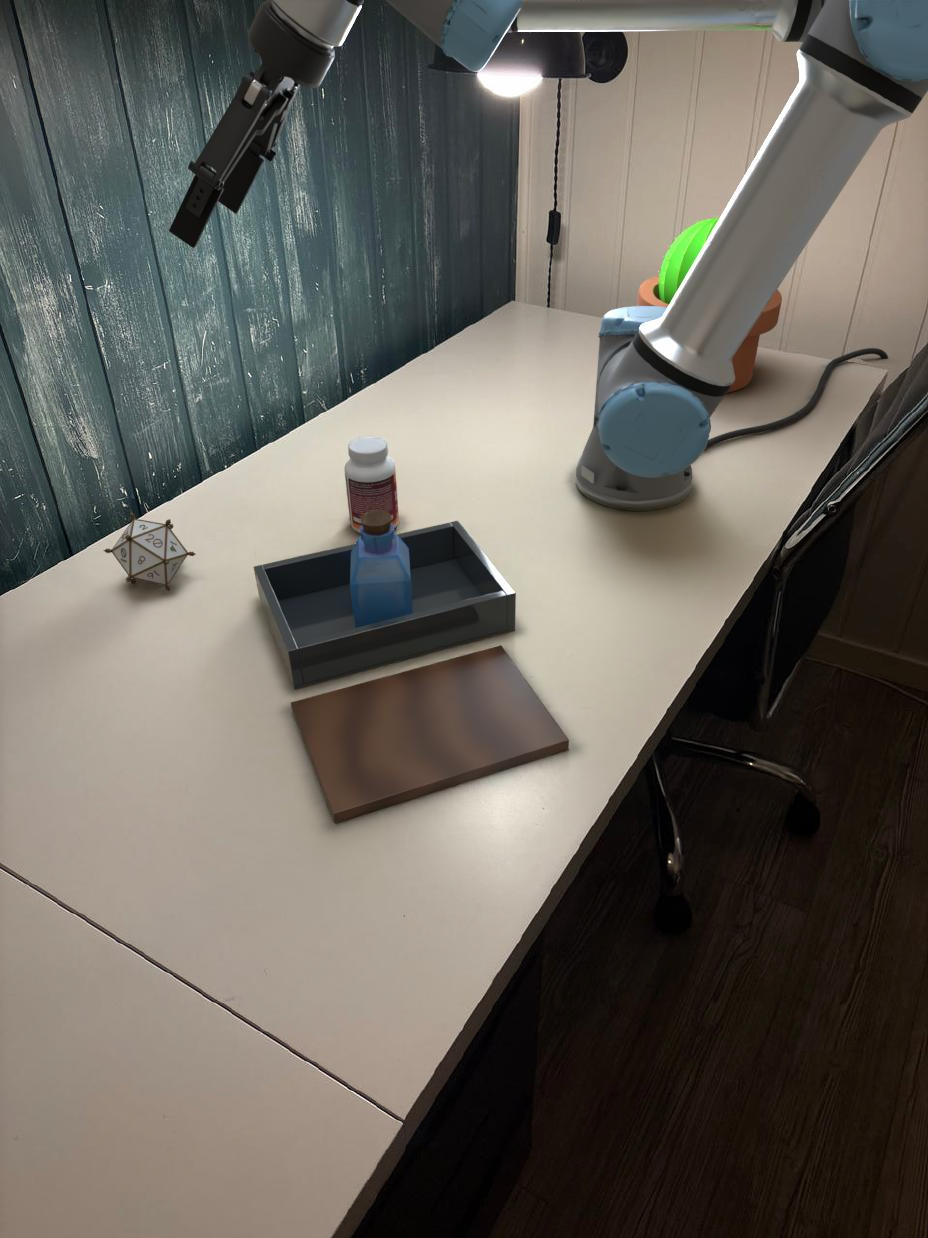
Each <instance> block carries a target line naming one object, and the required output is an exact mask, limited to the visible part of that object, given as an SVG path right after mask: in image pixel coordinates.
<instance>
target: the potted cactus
mask: <svg viewBox="0 0 928 1238" xmlns="http://www.w3.org/2000/svg"><path fill="white" fill-rule="evenodd" d="M713 216H714V217H713V218H710V217H708V218H707V219H703V218H702V217H701V219H700V220H699V218H697V220H696V219H695V220H693V224H692V225H691V226H688V227H687V228H682V230H683V231H682V230H679V231H680V232H681V234H680V235H679V236H678V237H677V236H676V237H675V236H674V241H673V243H672V244H671V245H670V246H669V245H666V247H667V248H669V249H668V250H667V252H666V254H665V256H664V255H663V254H661V258H662V260H663V261H662V264H661V267H660V271H659V270H658V271H655V273H657V274H658V273H659V275H656V276H653V277H651V278H648V279H646V280H645V281H643V282H642V283H641V284H640V286H639V289H638V294H637V305H636V306H658V307H668V306H669V305H670V303H671V301H672V299H673V298H674V296H675V294H676V293H677V291H678V289H679V287H680V286H681V284H682V282H683V281H684V279H685V277H686V275H687V274H688V272H689V270H690V269H691V267H692V265H693V263H694V262H695V260H696V258H697V257H698V255H699V253H700V251H701V250H702V248H703V246H704V245H705V243H706V241H707V239H708V238H709V236H710V234H711V233H712V231H713V229H714V227H715V226H716V224H717V222H718V221H719V219H720V217H718V214H716V215H715V213H714V214H713ZM695 222H696V223H695ZM782 301H783V296H782V294H781V292H780V291H779V290H778V289H777V290H776V292H775V293H774V295H773V296H772V298H771V300H770V301H769V303H768V304H767V306H766V307H765V309H764V310H763V312H762V313H761V315H760V316H759V318H758V319H757V321H756V322H755V324H754V326H753V327H752V329H751V330H750V332H749V333H748V335H747V336H746V338H745V339H744V341H743V342H742V344H741V345H740V347H739V348H738V350H737V352H736V353H735V355H734V356H733V358H732V364H733V369H734V374H735V380H734V382H733V384H732V385H731V387H730V388H729V390H728V391H727V393H732V392H736V391H739V390H741V389H743V388H745V387H746V386H747V385H749V384H750V382H751V380H752V378H753V375H754V370H755V365H756V359H757V354H758V347H759V341H760V337H761V336H762V335H763V334H766V333H769V332H770V331H772V330H773V329H774V328H775V327H776V326H777V324H778V323H779V317H780V311H781V307H782Z"/></svg>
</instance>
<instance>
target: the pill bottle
mask: <svg viewBox="0 0 928 1238" xmlns="http://www.w3.org/2000/svg"><path fill="white" fill-rule="evenodd" d="M347 453H348V456H349V458H348V459H347V460H346V462H345V464H344V480H345V487H346V498H347V507H348V517H349V523H350V526H351V528H352V529H353V530H354V531H355V532H357V533H359V534H360V528H361V526H362V523H361V519H360V518H361V516H362V515H363V514H364V513H366V512H369V511H373V510H382V511H386V512H388V513H390V514H391V516H392V519H391V523H392V524H393V526H394V529H396V527H397V526H398V525H399V522H400V513H399V499H398V485H397V471H396V470H397V469H396V464H395V461H394V460H393V458H391V456H389V446H388V442H387V441H386V440H385V439H384V438H382V437H380V436H376V435H375V436H374V435H366V436H365V435H364V436H360V437H357V438H354V439H352V440H350V442H349V443H348V446H347Z"/></svg>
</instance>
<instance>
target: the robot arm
mask: <svg viewBox="0 0 928 1238" xmlns="http://www.w3.org/2000/svg"><path fill="white" fill-rule="evenodd" d="M385 1H386V2H387V3H388V4H389V5H390V6H392V8H394V9H395V10H396V11H397V12H398V13H399V14H401V15H402V16H403V17H404V18H405V19H407V20H408V21H409V22H410V23H411V24H412V25H414V27H416V28H417V29H418V30H419V31H420V32H421V33H423V34H424V35H425V36H426V37H427V38H429V39H430V40H431V41H432V42H433V43H435V44H436V45H437V46H438V47H439V48H440V49H441V50H442V53H443V54H445V56H447V57H449V58H453V59H454V60H456V62H458V63H459V64H461V65H462V66H463V67H465V68H466V69H467V70H469V71H471V72H475V73H476V72H480V71H482V70H483V69H484V68H485V67H486V65H487V64H488V62H489V61H490V59H491V58H492V57H493V55H494V54H495V51H496V50H497V48H498V47H499V45H500V43H501V42H502V41H503V38H504V37H505V35H506V34H507V33H516V32H521V33H522V32H529V33H531V32H662V31H663V32H674V31H676V32H677V31H678V32H680V31H684V32H685V31H692V32H693V31H694V32H695V31H699V32H700V31H770V32H771V33H772V34H773V36H774V38H775V39H776V40H777V41H778V42H779V43H801V45H800V47H799V48H798V50H797V52H796V59H797V65H798V66H797V67H798V72H799V80H798V84H797V85H796V87H795V89H794V90H793V93H792V94H791V95H790V97H789V99H788V101H787V103H786V104H785V106H784V108H783V109H782V111H781V113H780V114H779V116H778V118H777V120H776V121H775V123H774V125H773V127H771V130H770V132H769V133H768V135H767V137H766V139H764V142H763V144H762V145H761V147H760V149H759V150H758V152H757V153H756V155H755V157H754V159H753V161H752V162H751V164H750V165H749V167H748V169H747V171H746V173H745V174H744V176H743V178H742V180H741V181H740V183H739V185H738V186H737V188H736V190H735V191H734V194H732V197H731V199H730V200H729V202H728V203H727V206H726V207H725V209H724V210H723V212H722V214H721V215H720V217H719V218H720V219H719V221H718V222H717V224H716V226H715V227H714V229H713V231H712V233H711V234H710V236H709V238H708V239H707V241H706V243H705V245H704V246H703V248H702V250H701V251H700V253H699V255H698V257H697V258H696V260H695V262H694V263H693V265H692V267H691V269H690V270H689V272H688V274H687V275H686V277H685V279H684V281H683V282H682V284H681V286H680V287H679V289H678V291H677V293H676V294H675V296H674V298H673V299H672V301H671V303H670V305H669V306H668V307H658V306H637V305H633V306H624V307H617V308H615V309H611V310H609V311H608V312H606V313H605V314H604V315H603V317H602V319H601V323H600V329H599V332H598V334H597V337H598V338H599V340H598V341H599V343H598V357H597V358H598V359H597V371H596V383H595V396H594V397H595V399H594V412H593V413H594V414H593V424H592V429H591V431H590V434H589V436H588V438H587V441H586V443H585V446H584V448H583V451H582V453H581V456H580V458H579V460H578V461H577V466H576V470H575V484H576V486H577V489H578V491H579V492H580V493H582V495H584V496H585V497H586V498H588V499H589V500H591V501H592V502H595V503H597V504H600V505H603V506H606V507H608V508H611V509H612V508H613V509H618V510H623V511H632V512H647V511H648V512H649V511H656V510H661V509H665V508H670V507H672V506H674V505H676V504H679V503H680V502H682V501H683V500H685V499H686V498H687V497H688V496H689V494H690V492H691V490H692V484H693V469H692V465H693V464H694V463H695V462H696V461H697V460H698V459H699V458H700V457H701V456H702V454H703V452H704V451H705V449H708V448H710V447H713V446H715V445H717V444H720V443H722V442H725V441H728V440H732V439H735V438H739V437H744V436H749V435H753V434H760V433H764V432H769V431H773V430H775V429H778V428H781V427H784V426H787V425H789V424H791V423H794V422H795V421H797V420H799V419H800V418H802V417H803V416H805V415H806V414H807V413H808V412H810V411H811V410H812V409H813V407H814V406H815V405H816V404H817V403H818V402H817V401H818V400H819V398H820V397H821V395H822V393H823V391H824V389H825V386H826V383H827V380H828V379H829V377H830V375H831V372H832V371H833V368H834V367H835V366H837V365H839V364H841V363H843V362H846V361H849V360H852V359H855V358H858V357H861V356H866V355H876V356H879V357H880V359H883V360H887V359H889V355H888V354H887V352H886V351H885V350H883V349H881V348H877V347H867V348H862V349H858V350H854V351H851V352H848V353H846V354H844V355H840V356H838V357H836V358H834V359H832V360H831V361H829V362H828V364H826V366H825V369H824V371H823V373H822V374H821V377H820V379H819V381H818V384H817V387H816V389H815V391H814V393H813V394H812V395H811V398H810V399H809V401H808V402H807V404H805V405H804V406H803V407H802V408H800V409H799V410H798V411H796V412H794V413H793V414H791V415H788V416H786V417H784V418H781V419H778V420H776V421H772V422H769V423H765V424H761V425H756V426H751V427H744V428H740V429H736V430H732V431H728V432H725V433H722V434H719V435H717V436H714V437H711V438H710V433H711V431H712V424H711V423H712V422H711V417H712V415H714V412H715V411H716V410H717V408H718V406H719V405H720V403H721V402H722V400H723V399H724V397H725V396H726V394H727V393H728V392H727V391H728V390H729V388H730V387H731V385H732V384H733V382H734V380H735V374H734V369H733V364H732V358H733V356H734V355H735V353H736V352H737V350H738V348H739V347H740V345H741V344H742V342H743V341H744V339H745V338H746V336H747V335H748V333H749V332H750V330H751V329H752V327H753V326H754V324H755V322H756V321H757V319H758V318H759V316H760V315H761V313H762V312H763V310H764V309H765V307H766V306H767V304H768V303H769V301H770V300H771V298H772V296H773V295H774V293H775V292H776V290H778V289H779V287H780V286H781V284H782V283H783V281H784V280H785V279H786V277H787V275H788V274H789V272H790V271H791V269H792V267H793V266H794V264H795V263H796V261H798V258H799V256H800V255H801V254H802V252H803V250H804V249H805V248H806V246H807V244H808V243H809V241H810V240H811V238H812V237H813V235H814V234H815V232H816V231H817V229H818V227H819V226H820V225H821V223H822V221H823V220H824V219H825V217H826V215H827V214H828V212H829V211H830V210H831V208H832V206H833V205H834V203H835V202H836V200H837V199H838V197H839V195H840V194H841V193H842V191H843V190H844V188H845V186H846V185H847V183H848V181H849V180H850V179H851V177H852V175H853V174H854V173H855V171H856V169H857V168H858V167H859V165H860V163H861V162H862V161H863V159H864V158H865V156H866V154H867V153H868V151H869V149H871V147H872V145H873V144H874V142H875V140H877V138H878V136H879V134H880V133H881V131H882V130H883V129H885V128H886V127H888V126H889V125H892V124H895V123H897V122H900V121H903V120H906V119H909V118H911V116H912V114H914V112H915V111H916V109H917V108H918V106H919V105H920V103H921V102H922V100H923V99H924V97H925V96H926V94H927V93H928V0H385ZM364 2H365V0H264V1H261V4H260V6H259V8H258V10H257V12H256V14H255V17H254V19H253V21H252V24H251V25H250V27H249V29H248V32H247V40H248V42H249V45H250V47H251V48H252V49H253V51H254V52H255V53H257V54H258V56H259V57H260V60H261V64H260V66H259V67H258V68H256V70H255V72H254V71H252V70H250V71H249V72H247V73H246V74H245V75H243V76H242V77H241V83H240V84H239V86H238V88H237V90H236V93H235V94H234V96H233V98H232V99H231V101H230V102H229V105H228V107H227V108H226V110H225V111H224V113H223V115H222V117H221V118H220V120H219V121H218V123H217V124H216V127H215V129H214V130H213V132H212V133H211V135H210V137H209V138H208V140H207V142H206V144H205V146H204V147H203V149H202V150H201V152H200V154H199V156H198V158H196V160H195V161H193V160H190V162H189V164H188V166H187V169H188V170H189V171H190V172H191V173H192V174H193V175H194V176H193V177H192V180H191V182H190V184H189V187H188V189H187V190H186V193H185V195H184V197H183V199H182V201H181V203H180V206H179V208H178V210H177V212H176V214H175V216H174V218H173V220H172V223H171V225H170V227H169V229H168V232H169V233H171V234H172V235H174V236H175V237H176V238H178V239H179V240H181V241H182V242H184V243H185V244H186V245H188V246H189V247H191V248H192V249H195V248H196V247H197V245H198V244H199V242H200V239H201V237H202V235H203V233H204V231H205V229H206V227H207V225H208V223H209V221H210V219H211V217H212V216H213V215H212V214H213V212H214V211H215V209H216V206H217V205H218V204H219V203H220V205H222V206H224V207H225V208H227V209H228V210H229V211H231V212H232V213H234V214H235V215H237V214H238V213H239V211H240V209H241V208H242V206H243V203H244V201H246V200H245V199H246V198H247V195H248V193H249V192H250V190H251V188H252V186H253V184H254V182H255V180H256V178H257V177H258V175H259V172H260V171H261V169H262V166H263V164H264V162H265V159H266V160H267V161H268V162H269V163H272V162H273V161H274V159H275V158H276V155H277V152H275V151H274V150H273V149H274V148H276V146H277V145H278V141H279V137H280V135H281V133H282V131H283V128H284V125H285V123H286V120H287V118H288V115H289V113H290V110H291V108H292V105H293V103H294V101H295V99H296V95H297V93H298V91H299V89H300V87H305V88H306V89H307V88H308V89H317V88H319V87H320V86H321V84H322V83H323V81H324V79H325V77H326V75H327V73H328V71H329V69H330V67H331V65H332V63H333V61H334V59H335V58H336V54H335V53H336V51H335V48H336V47H341V46H342V45H343V44H344V42H345V40H346V38H347V37H348V34H349V32H350V31H351V28H352V27H353V24H354V23H355V21H356V18H357V16H358V15H359V13H360V11H361V9H362V5H363V4H364ZM334 47H335V48H334ZM262 157H263V158H262ZM264 158H265V159H264Z"/></svg>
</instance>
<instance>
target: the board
mask: <svg viewBox="0 0 928 1238" xmlns="http://www.w3.org/2000/svg"><path fill="white" fill-rule="evenodd" d="M290 709H291V713H292V716H293V719H294V720H295V723H296V726H297V728H298V731H299V733H300V736H301V739H302V741H303V744H304V747H305V749H306V752H307V754H308V757H309V760H310V762H311V764H312V768H313V770H314V773H315V775H316V778H317V780H318V784H319V786H320V788H321V791H322V794H323V796H324V799H325V801H326V804H327V807H328V809H329V812H330V814H331V817H332V820H333V823H334V824H337V823H340V822H343V821H347V820H350V819H353V818H356V817H359V816H362V815H365V814H369V813H371V812H374V811H375V812H376V811H378V810H381V809H384V808H388V807H390V806H393V805H397V804H400V803H403V802H406V801H409V800H413V799H415V798H419V797H422V796H425V795H429V794H432V793H435V792H437V791H441V790H444V789H447V788H450V787H453V786H457V785H460V784H463V783H466V782H470V781H472V780H475V779H479V778H482V777H485V776H489V775H491V774H495V773H498V772H502V771H504V770H507V769H511V768H513V767H516V766H520V765H524V764H527V763H529V762H533V761H536V760H539V759H542V758H545V757H549V756H551V755H555V754H558V753H562V752H564V751H567V750H569V746H570V745H569V744H570V739H569V738H568V736H567V735H566V734H565V732H564V731H563V729H562V728H561V726H560V725H559V724H558V723H557V721H556V719H555V718H554V717H553V716H552V714H551V712H550V711H549V710H548V708H547V707H546V705H545V704H544V703H543V701H542V700H541V699H540V697H539V696H538V695H537V693H536V692H535V690H534V689H533V688H532V686H531V685H530V684H529V682H528V681H527V679H526V677H525V676H524V675H523V673H522V671H520V669H519V668H518V667H517V665H516V664H515V662H514V661H513V659H512V657H510V656H509V654H508V653H507V651H506V650H505V649H504V647H503V645H502V644H500V645H496V646H492V647H489V648H485V649H482V650H478V651H474V652H470V653H466V654H463V655H459V656H456V657H453V658H448V659H445V660H441V661H438V662H434V663H431V664H426V665H423V666H419V667H415V668H412V669H408V670H404V671H400V672H398V673H393V674H390V675H386V676H382V677H379V678H375V679H371V680H368V681H365V682H361V683H357V684H353V685H350V686H346V687H342V688H337V689H335V690H332V691H328V692H324V693H320V694H317V695H312V696H309V697H306V698H301V699H298V700H293V701H291V702H290Z"/></svg>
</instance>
